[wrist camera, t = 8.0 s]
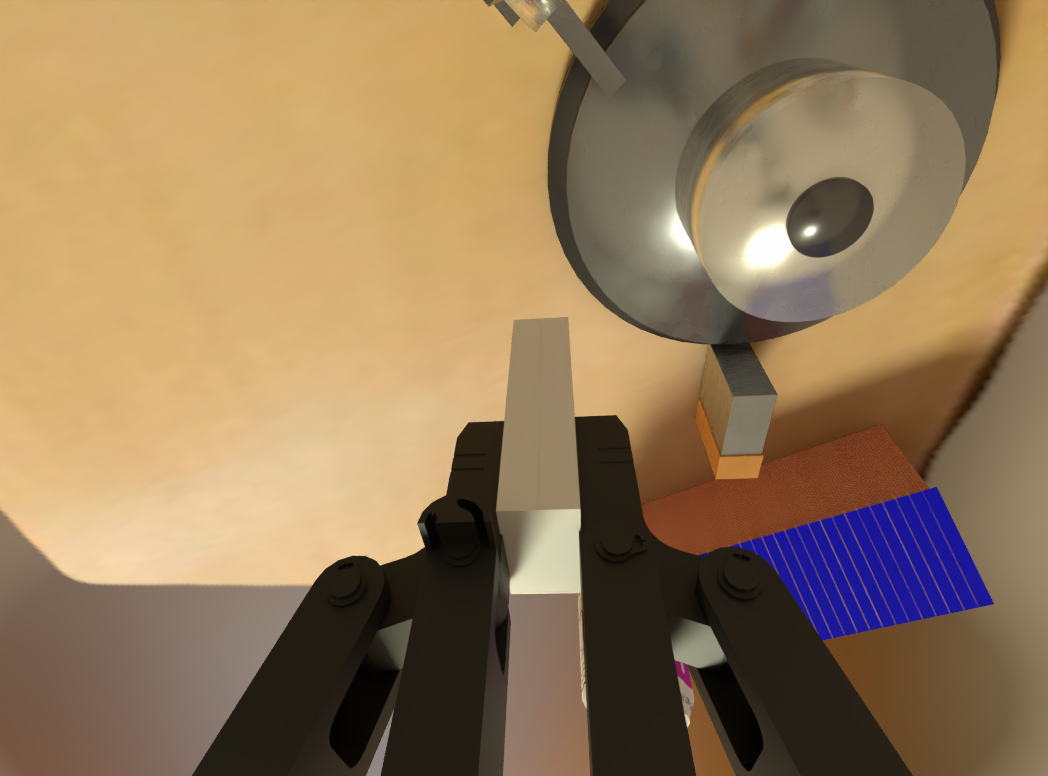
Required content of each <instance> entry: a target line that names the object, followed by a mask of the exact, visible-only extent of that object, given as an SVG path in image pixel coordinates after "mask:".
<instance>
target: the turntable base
mask: <svg viewBox="0 0 1048 776" xmlns="http://www.w3.org/2000/svg"><path fill="white" fill-rule="evenodd" d="M642 1H643V0H608V1H607V3H606V4H605V6H604V7H603V9H602V10H601V12H600V13H599V15H598V16H597V18H596V19H595V21H594V22H593V24H592V25H591V26H590V28H589V29H588V31H589V32H590V33H591V35H592V36H593V37H594V38H595V40H596V41H597V42H598V44H599V45H600V46H601V48H602V49H603V50H604V51H605V49H606V47H607V46H608V44H609V43H610V42H611V40H612V39H613V37H614V36H615V34H616V33H617V32H618V30H619V29H620V27H621V26H622V24H623V23H624V22H625V20H626V19H627V18H628V17H629V16H630V15H631V13H632V12H633V11H634V10H635V9H636V8H637V7H638V6H639V4H640V3H641V2H642ZM984 3H985V5H986V8H987V10H988V12H989V16H990V20H991V25H992V29H993V34H994V38H995V43H996V61H997V80H996V91H995V98H996V94H997V88H998V78H999V68H1000V37H999V23H998V18H997V13H996V9H995V4H994V0H984ZM590 76H591V75H590V73H589V72H588V71H587V69H586V68H585V67H584V66H583V64H582V63H581V62H580V61H579V59H578V58H577V57H576V55H575V56H574V58H573V60H572V62H571V64H570V67H569V69H568V72H567V75H566V77H565V80H564V82H563V85H562V88H561V90H560V93H559V97H558V101H557V105H556V109H555V113H554V116H553V120H552V126H551V133H550V141H549V148H548V191H549V199H550V208H551V213H552V217H553V221H554V225H555V229H556V233H557V236H558V238H559V241H560V243H561V246H562V248H563V251H564V253H565V256H566V258H567V259H568V261H569V263H570V264H571V266H572V268H573V270H574V271H575V273H576V275H577V276H578V278H579V279H580V280H581V281H582V283H583V284H584V285H585V286H586V288H587V289H588V290H589V292H590V293H591V294H592V295H593V296H594V297H595V298H596V299H597V300H599V301H600V302H601V303H602V304H603V305H604V306H605V307H606V308H607V309H609V310H610V311H611V312H613V313H614V314H616V315H617V316H618V317H620V318H621V319H623V320H624V321H626V322H628V323H630V324H632V325H634V326H636V327H638V328H639V329H641V330H644V331H647V332H649V333H652V334H655V335H657V336H660V337H664V338H668V339H672V340H677V341H681V342H689V343H697V344H708V343H701V342H692V341H688V340H684V339H679V338H675V337H672V336H669V335H666V334H664V333H661V332H658V331H655V330H653V329H651V328H649V327H647V326H646V325H644V324H642V323H640V322H638V321H636V320H635V319H633V318H632V317H631V316H629V315H628V314H627V313H625V312H624V311H622V310H621V309H620V308H619V307H618V306H617V305H616V304H615V303H614V302H613V301H612V300H610V299H609V298H608V297H607V296H606V295H605V293H604V292H603V291H602V289H601V288H600V287H599V286H598V284H597V283H596V282H595V280H594V279H593V277H592V276H591V274H590V272H589V270H588V269H587V267H586V265H585V263H584V262H583V259H582V257H581V254H580V252H579V249H578V247H577V244H576V242H575V238H574V234H573V230H572V226H571V222H570V218H569V208H568V198H567V187H566V180H567V157H568V150H569V144H570V137H571V132H572V128H573V124H574V121H575V117H576V114H577V110H578V106H579V103H580V101H581V99H582V96H583V94H584V91H585V89H586V86H587V84H588V81H589V79H590Z"/></svg>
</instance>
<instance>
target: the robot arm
mask: <svg viewBox="0 0 1048 776" xmlns="http://www.w3.org/2000/svg"><path fill="white" fill-rule="evenodd" d="M451 470H452V471H451V473H450V478H449V484H448V489H447V494H446V496H444V497H442V498H440V499H438V500H436V501H434V502H432V503H431V504H430V505H429V506H428V507H427V508H426V509H425V510H424V511H423V512H422V514H421V517H420V519H419V521H418V523H417V524H418V527H419V530H420V533H421V536H422V539H423V542H424V545H425V547H424V548H423V549H421V550H420V551H418V552H417V553H415V554H413V555H410V556H408V557H405V558H402V559H399V560H396V561H393V562H390V563H387V564H384V565H381V566H380V565H379V564H378V563H377V561H375V560H373V559H371V558H369V557H366V556H351V557H347V558H344V559H341V560H338V561H337V562H335V563H334V564H332V565H331V566H329V567H328V568H326V569H325V570H324V571H323V572H322V574H321V575H320V576H319V577H318V578H317V579H316V581H315V582H314V584H313V585H312V587H311V589H310V590H309V592H308V593H307V595H306V596H305V598H304V600H303V601H302V603H301V604H300V606H299V608H298V609H297V611H296V612H295V614H294V615H293V617H292V619H291V620H290V622H289V623H288V625H287V627H286V628H285V630H284V631H283V633H282V634H281V636H280V638H279V639H278V641H277V642H276V644H275V645H274V647H273V649H272V650H271V652H270V653H269V655H268V656H267V658H266V660H265V661H264V663H263V664H262V666H261V668H260V669H259V671H258V673H257V674H256V676H255V677H254V679H253V680H252V682H251V683H250V685H249V686H248V688H247V690H246V691H245V693H244V694H243V696H242V697H241V699H240V701H239V702H238V704H237V705H236V707H235V709H234V710H233V712H232V713H231V715H230V716H229V718H228V720H227V721H226V723H225V724H224V726H223V727H222V729H221V731H220V732H219V734H218V735H217V737H216V739H215V740H214V742H213V743H212V745H211V746H210V748H209V750H208V751H207V753H206V754H205V756H204V757H203V759H202V761H201V762H200V764H199V765H198V767H197V768H196V770H195V772H194V773H193V775H192V776H366V774H367V772H368V769H369V767H370V764H371V762H372V760H373V757H374V755H375V752H376V750H377V748H378V745H379V743H380V741H381V738H382V736H383V734H384V731H385V729H386V726H387V724H388V722H389V719H390V717H391V714H392V712H393V710H394V713H393V718H392V723H391V728H390V733H389V738H388V743H387V747H386V753H385V757H384V762H383V767H382V772H381V776H503V762H504V743H505V723H506V722H505V721H506V704H507V685H508V664H509V646H510V645H509V644H510V626H511V621H510V614H509V608H508V604H509V587H510V591H511V594H542V593H543V594H544V593H581V602H582V632H583V646H584V664H585V683H586V702H587V719H588V740H589V759H590V776H696V773H695V767H694V762H693V757H692V751H691V746H690V741H689V735H688V730H687V724H686V719H685V713H684V708H683V702H682V697H681V692H680V686H679V681H678V675H677V670H676V665H675V660H676V661H679V662H682V663H685V664H687V666H688V668H689V671H690V673H691V675H692V677H693V680H694V682H695V684H696V686H697V689H698V691H699V693H700V696H701V698H702V700H703V702H704V705H705V707H706V709H707V711H708V714H709V716H710V718H711V720H712V722H713V725H714V727H715V729H716V732H717V734H718V736H719V738H720V741H721V743H722V745H723V748H724V750H725V752H726V754H727V757H728V759H729V761H730V763H731V766H732V768H733V770H734V772H735V775H736V776H913V775H912V774H911V772H910V771H909V769H908V768H907V766H906V765H905V763H904V762H903V761H902V759H901V757H900V756H899V754H898V753H897V751H896V750H895V749H894V747H893V745H892V744H891V742H890V741H889V740H888V738H887V736H886V735H885V733H884V732H883V730H882V729H881V728H880V726H879V724H878V723H877V722H876V720H875V718H874V717H873V716H872V714H871V712H870V711H869V710H868V708H867V707H866V705H865V704H864V702H863V701H862V699H861V697H860V696H859V695H858V693H857V692H856V690H855V689H854V687H853V686H852V684H851V683H850V681H849V680H848V678H847V677H846V675H845V674H844V672H843V671H842V669H841V668H840V666H839V665H838V663H837V662H836V660H835V659H834V657H833V656H832V654H831V653H830V651H829V650H828V648H827V647H826V645H825V644H824V642H823V641H822V639H821V638H820V636H819V635H818V633H817V632H816V630H815V629H814V627H813V626H812V624H811V623H810V621H809V620H808V618H807V617H806V615H805V614H804V612H803V611H802V609H801V608H800V606H799V605H798V603H797V602H796V600H795V599H794V597H793V596H792V594H791V593H790V591H789V590H788V588H787V587H786V585H785V584H784V582H783V581H782V579H781V578H780V576H779V575H778V573H777V572H776V570H775V569H774V568H773V567H772V566H771V565H770V564H769V563H768V562H767V561H766V560H765V559H764V558H762V557H761V556H759V555H757V554H755V553H754V552H752V551H750V550H746V549H742V548H739V547H720V548H718V549H716V550H714V551H711V552H709V553H708V554H707V555H706V556H705V557H703V556H699V555H695V554H692V553H688V552H684V551H680V550H678V549H675V548H672V547H670V546H668V545H666V544H665V543H663V542H661V541H660V540H659V539H658V538H656V537H655V536H654V535H653V534H652V533H651V531H650V530H649V528H648V527H647V525H646V523H645V520H644V517H643V512H642V507H641V501H640V496H639V490H638V484H637V479H636V473H635V468H634V464H633V457H632V451H631V445H630V440H629V434H628V430H627V428H626V427H625V426H624V425H623V423H622V422H621V421H620V420H619V418H618V417H617V416H616V415H611V416H586V417H574V401H573V386H572V370H571V355H570V339H569V323H568V317H562V318H543V319H525V320H514V323H513V334H512V345H511V355H510V366H509V377H508V388H507V399H506V409H505V420H504V421H494V422H469V423H468V424H467V425H466V427H465V428H464V429H463V431H462V432H461V433H460V435H459V436H458V437H457V442H456V447H455V452H454V458H453V463H452V468H451ZM394 707H395V708H394Z"/></svg>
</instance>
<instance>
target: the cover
mask: <svg viewBox="0 0 1048 776" xmlns="http://www.w3.org/2000/svg"><path fill="white" fill-rule="evenodd" d="M965 163H966V155H965V146H964V140H963V137H962V133H961V130H960V127H959V125H958V123H957V121H956V119H955V117H954V115H953V113H952V112H951V111H950V110H949V109H948V107H947V106H946V105H945V104H944V102H943V101H941V100H940V99H939V98H938V97H936V96H935V95H934V94H933V93H932V92H930V91H928V90H926V89H924V88H922V87H920V86H919V85H917V84H914V83H910V82H907V81H904V80H900V79H897V78H893V77H890V76H886V75H883V74H879V73H876V72H872V71H868V70H865V69H861V68H858V67H854V66H851V65H847V64H844V63H840V62H837V61H833V60H829V59H823V58H815V57H810V58H795V59H789V60H784V61H780V62H777V63H774V64H771V65H768V66H766V67H763V68H761V69H759V70H757V71H755V72H753V73H751V74H749V75H748V76H746V77H744V78H743V79H741V80H739V81H738V82H737V83H735V84H734V85H733V86H731V87H730V88H729V89H727V90H726V91H725V92H724V93H723V94H722V95H721V96H720V97H719V98H717V99H716V100H715V101H714V102H713V103H712V105H711V106H710V107H709V108H708V109H707V110H706V112H705V113H704V114H703V115H702V117H701V118H700V120H699V121H698V122H697V124H696V125H695V127H694V128H693V130H692V132H691V134H690V136H689V138H688V140H687V141H686V144H685V146H684V149H683V151H682V154H681V156H680V160H679V164H678V167H677V172H676V179H675V202H676V209H677V213H678V216H679V220H680V222H681V224H682V227H683V229H684V231H685V233H686V235H687V236H688V238H689V240H690V242H691V244H692V246H693V247H694V249H695V251H696V253H697V255H698V257H699V258H700V260H701V262H702V264H703V266H704V268H705V270H706V271H707V273H708V275H709V277H710V279H711V281H712V282H713V284H714V285H715V287H716V288H717V290H718V291H719V292H720V293H721V294H722V295H723V296H724V298H725V299H726V300H728V301H729V302H730V303H731V304H733V305H734V306H735V307H737V308H739V309H740V310H742V311H744V312H746V313H748V314H751V315H753V316H756V317H758V318H762V319H767V320H771V321H780V322H803V321H812V320H818V319H822V318H827V317H831V316H834V315H837V314H840V313H843V312H846V311H848V310H851V309H853V308H855V307H858V306H860V305H862V304H864V303H866V302H868V301H869V300H871V299H873V298H875V297H877V296H878V295H880V294H881V293H883V292H884V291H886V290H887V289H889V288H890V287H892V286H893V285H894V284H895V283H897V282H898V281H899V280H901V279H902V278H903V277H904V276H905V275H907V274H908V273H909V272H910V271H911V270H912V269H913V268H914V267H915V266H916V265H917V264H918V263H919V262H920V261H921V260H922V259H923V258H924V257H925V255H926V254H927V253H928V252H929V251H930V249H931V248H932V247H933V245H934V244H935V243H936V242H937V240H938V239H939V237H940V236H941V234H942V233H943V231H944V229H945V228H946V226H947V224H948V223H949V221H950V219H951V216H952V214H953V212H954V210H955V208H956V206H957V203H958V200H959V197H960V194H961V191H962V186H963V181H964V176H965Z"/></svg>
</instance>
